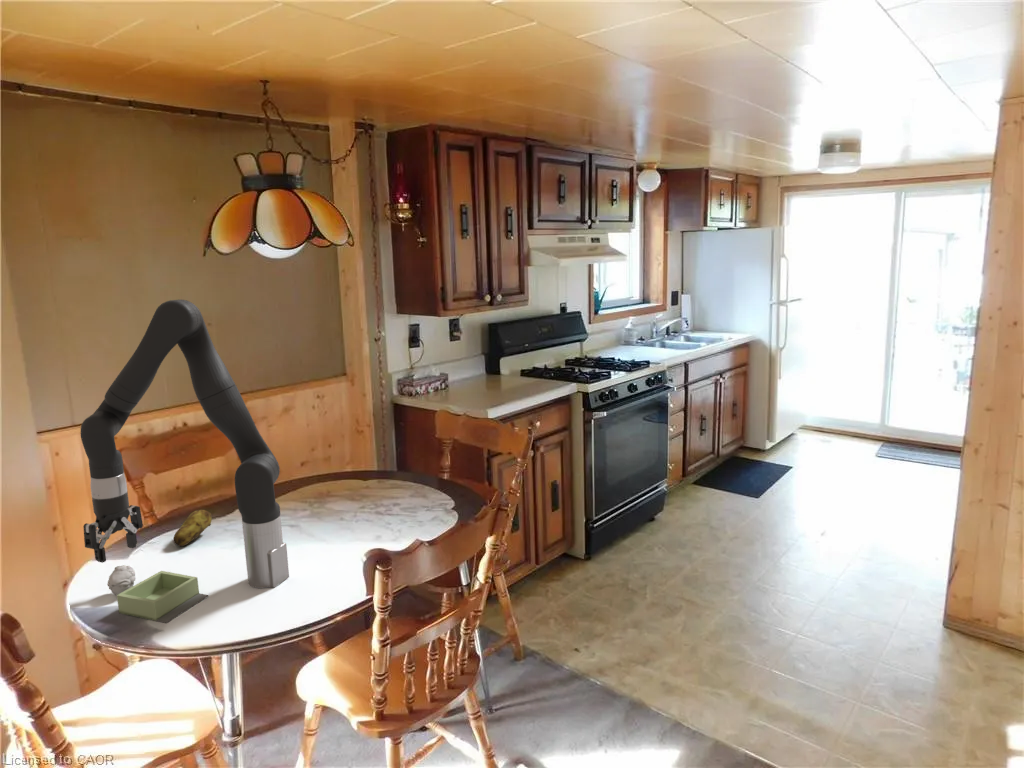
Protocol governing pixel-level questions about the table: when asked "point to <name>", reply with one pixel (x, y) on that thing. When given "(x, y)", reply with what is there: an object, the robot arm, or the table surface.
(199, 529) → the potato
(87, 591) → the table surface
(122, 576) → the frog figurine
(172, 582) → the tray
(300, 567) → the table surface
